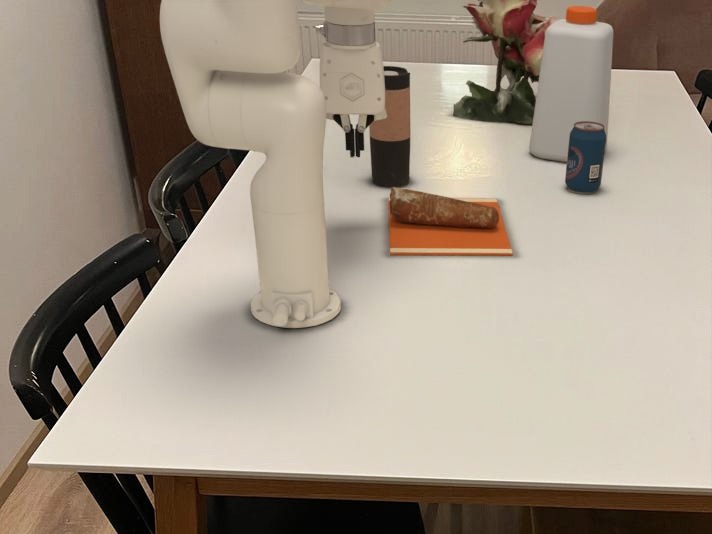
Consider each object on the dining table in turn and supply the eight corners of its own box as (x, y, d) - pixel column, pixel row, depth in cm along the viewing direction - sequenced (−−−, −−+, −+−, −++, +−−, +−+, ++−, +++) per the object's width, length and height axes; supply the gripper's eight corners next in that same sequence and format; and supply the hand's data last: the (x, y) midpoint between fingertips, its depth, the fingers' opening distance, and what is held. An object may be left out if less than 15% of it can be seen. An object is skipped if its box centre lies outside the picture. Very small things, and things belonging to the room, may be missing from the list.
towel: (512, 255, 151) (512, 253, 151) (390, 254, 149) (390, 252, 149) (496, 200, 172) (496, 198, 172) (388, 199, 170) (388, 197, 170)
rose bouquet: (572, 129, 213) (586, -17, 195) (447, 118, 216) (450, -27, 198) (580, 102, 234) (593, -33, 216) (466, 92, 237) (470, -42, 219)
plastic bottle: (523, 157, 194) (534, 10, 178) (543, 139, 206) (554, -2, 189) (594, 168, 190) (611, 18, 174) (609, 148, 202) (627, 6, 186)
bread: (393, 213, 163) (393, 182, 160) (500, 224, 162) (502, 192, 158) (385, 226, 158) (384, 194, 155) (495, 237, 156) (497, 204, 153)
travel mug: (362, 182, 177) (359, 71, 165) (384, 172, 182) (382, 63, 171) (397, 190, 174) (395, 77, 162) (417, 179, 180) (418, 69, 168)
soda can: (557, 185, 181) (563, 122, 174) (587, 181, 183) (594, 118, 176) (576, 197, 176) (583, 132, 169) (607, 192, 178) (615, 128, 171)
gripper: (299, 38, 138) (308, 161, 149) (399, 40, 139) (401, 162, 150) (302, 27, 144) (310, 147, 155) (399, 29, 145) (400, 148, 156)
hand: (355, 154), depth 153 cm, fingers closed
